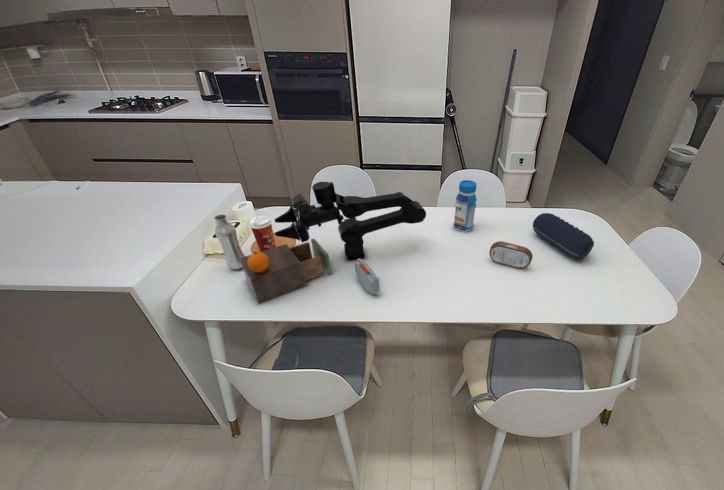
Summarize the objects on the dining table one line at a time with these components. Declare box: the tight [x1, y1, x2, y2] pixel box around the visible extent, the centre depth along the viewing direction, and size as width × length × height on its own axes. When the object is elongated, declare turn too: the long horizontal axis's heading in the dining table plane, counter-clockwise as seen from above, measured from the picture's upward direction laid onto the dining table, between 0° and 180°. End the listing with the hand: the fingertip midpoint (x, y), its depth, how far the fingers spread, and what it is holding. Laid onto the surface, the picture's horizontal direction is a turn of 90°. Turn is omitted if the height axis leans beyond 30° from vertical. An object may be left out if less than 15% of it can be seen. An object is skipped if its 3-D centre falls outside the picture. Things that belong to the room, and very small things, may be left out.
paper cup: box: [248, 215, 277, 252], centre depth 129 cm, size 8×8×14 cm
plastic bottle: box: [214, 214, 246, 270], centre depth 120 cm, size 6×7×20 cm
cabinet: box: [239, 243, 307, 304], centre depth 115 cm, size 16×14×10 cm
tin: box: [489, 240, 534, 269], centre depth 125 cm, size 15×3×8 cm, turn 65°
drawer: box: [289, 238, 332, 281], centre depth 120 cm, size 16×12×8 cm
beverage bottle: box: [453, 179, 478, 233], centre depth 143 cm, size 8×8×20 cm
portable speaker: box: [532, 212, 595, 261], centre depth 135 cm, size 25×10×10 cm, turn 26°
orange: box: [247, 251, 269, 273], centre depth 106 cm, size 6×6×7 cm
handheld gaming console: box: [353, 258, 381, 295], centre depth 115 cm, size 14×3×8 cm, turn 32°
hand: (275, 227), depth 116 cm, fingers open, 9 cm apart
